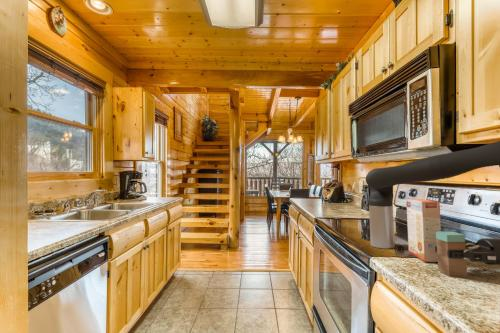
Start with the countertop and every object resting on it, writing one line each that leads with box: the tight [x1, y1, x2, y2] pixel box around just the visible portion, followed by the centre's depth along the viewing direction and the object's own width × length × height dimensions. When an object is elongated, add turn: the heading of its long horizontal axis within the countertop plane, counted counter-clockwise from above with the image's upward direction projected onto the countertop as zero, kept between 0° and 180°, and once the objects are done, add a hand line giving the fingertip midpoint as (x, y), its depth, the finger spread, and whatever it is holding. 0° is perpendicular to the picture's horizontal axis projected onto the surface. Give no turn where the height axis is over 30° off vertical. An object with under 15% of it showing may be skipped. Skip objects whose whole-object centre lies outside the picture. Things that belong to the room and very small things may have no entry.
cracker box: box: [406, 198, 442, 263], centre depth 96 cm, size 14×6×21 cm, turn 168°
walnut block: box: [436, 231, 468, 278], centre depth 79 cm, size 5×5×12 cm
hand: (442, 251), depth 79 cm, fingers closed on walnut block, 5 cm apart
